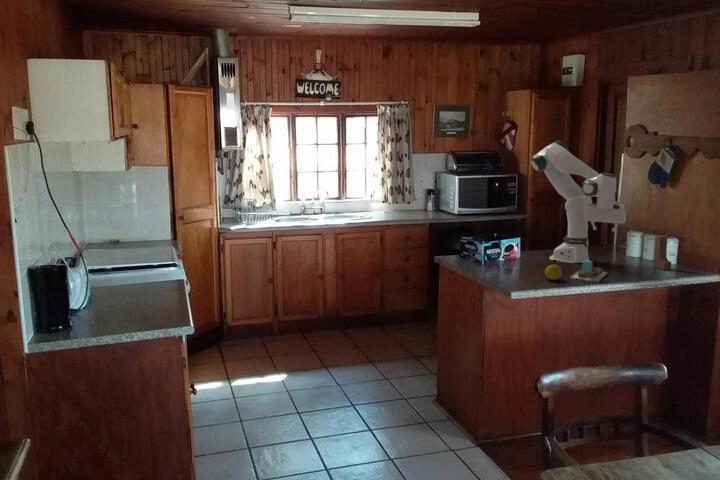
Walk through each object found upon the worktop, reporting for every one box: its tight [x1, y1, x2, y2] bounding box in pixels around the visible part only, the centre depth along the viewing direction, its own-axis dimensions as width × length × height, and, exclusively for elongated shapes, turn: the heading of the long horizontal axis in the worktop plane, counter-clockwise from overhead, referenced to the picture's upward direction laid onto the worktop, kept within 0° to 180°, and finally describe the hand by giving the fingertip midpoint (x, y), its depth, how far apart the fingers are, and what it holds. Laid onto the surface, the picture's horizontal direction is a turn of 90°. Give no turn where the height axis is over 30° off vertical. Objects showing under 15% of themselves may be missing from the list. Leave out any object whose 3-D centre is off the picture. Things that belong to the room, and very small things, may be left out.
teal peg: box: [581, 260, 593, 274], centre depth 327 cm, size 4×4×8 cm
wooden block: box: [653, 234, 672, 271], centre depth 343 cm, size 9×4×18 cm, turn 12°
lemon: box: [544, 264, 563, 281], centre depth 325 cm, size 11×8×8 cm
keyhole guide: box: [569, 267, 608, 283], centre depth 331 cm, size 14×20×3 cm
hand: (604, 230), depth 328 cm, fingers open, 8 cm apart
